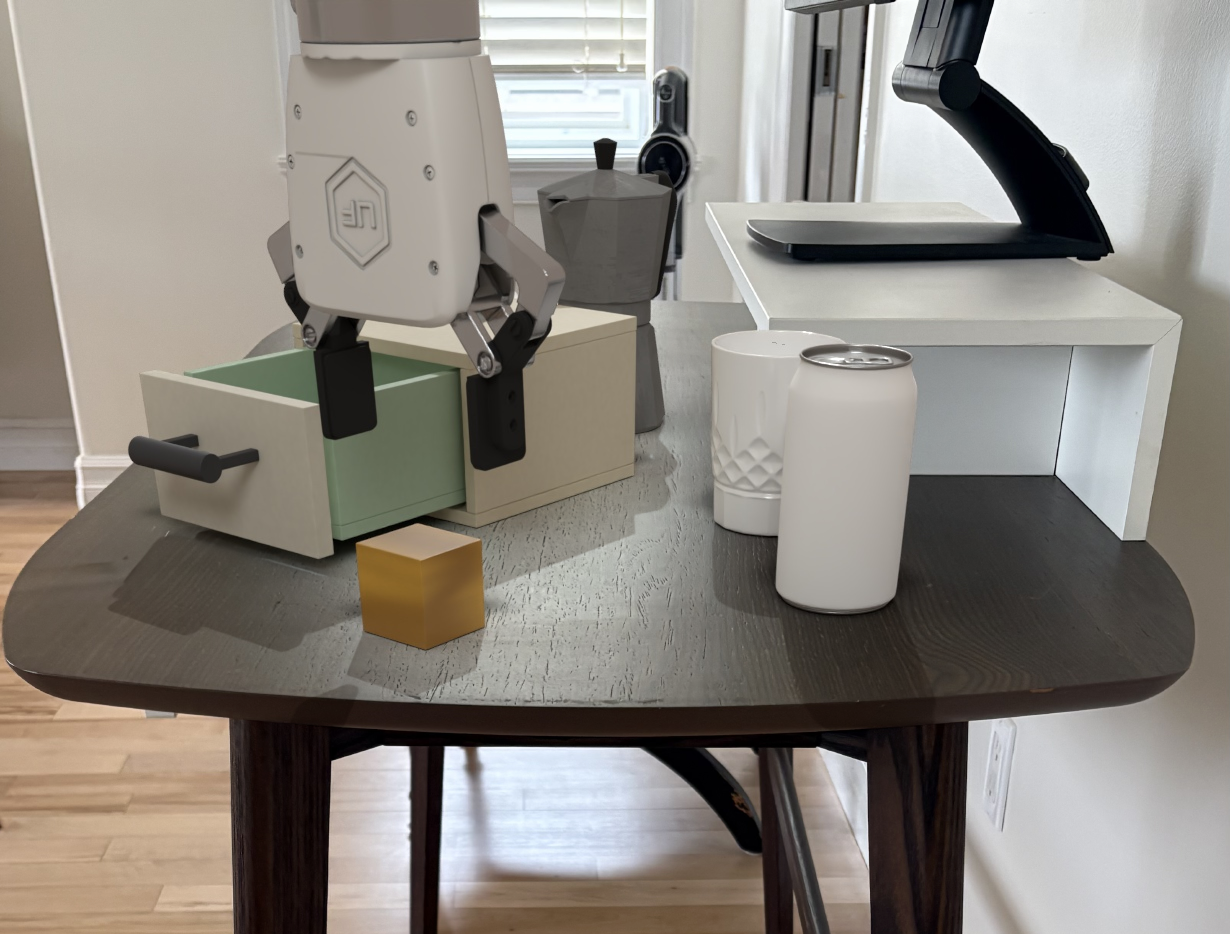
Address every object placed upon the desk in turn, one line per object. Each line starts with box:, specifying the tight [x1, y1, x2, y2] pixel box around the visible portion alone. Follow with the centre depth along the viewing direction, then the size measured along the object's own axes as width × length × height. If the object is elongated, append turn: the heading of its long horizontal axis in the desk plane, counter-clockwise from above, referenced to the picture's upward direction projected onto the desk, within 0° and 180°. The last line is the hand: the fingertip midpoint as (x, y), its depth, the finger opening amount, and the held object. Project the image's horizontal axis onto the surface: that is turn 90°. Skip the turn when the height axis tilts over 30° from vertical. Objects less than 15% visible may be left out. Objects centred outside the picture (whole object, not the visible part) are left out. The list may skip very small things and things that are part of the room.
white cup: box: [710, 329, 849, 537], centre depth 93 cm, size 8×8×10 cm
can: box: [775, 343, 919, 616], centre depth 81 cm, size 6×6×12 cm
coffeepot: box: [536, 137, 678, 434], centre depth 112 cm, size 15×9×18 cm, turn 146°
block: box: [355, 523, 486, 651], centre depth 79 cm, size 4×4×4 cm
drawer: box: [127, 346, 466, 560], centre depth 91 cm, size 19×13×8 cm
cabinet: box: [291, 298, 637, 528], centre depth 100 cm, size 16×15×10 cm
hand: (422, 448), depth 75 cm, fingers open, 9 cm apart
